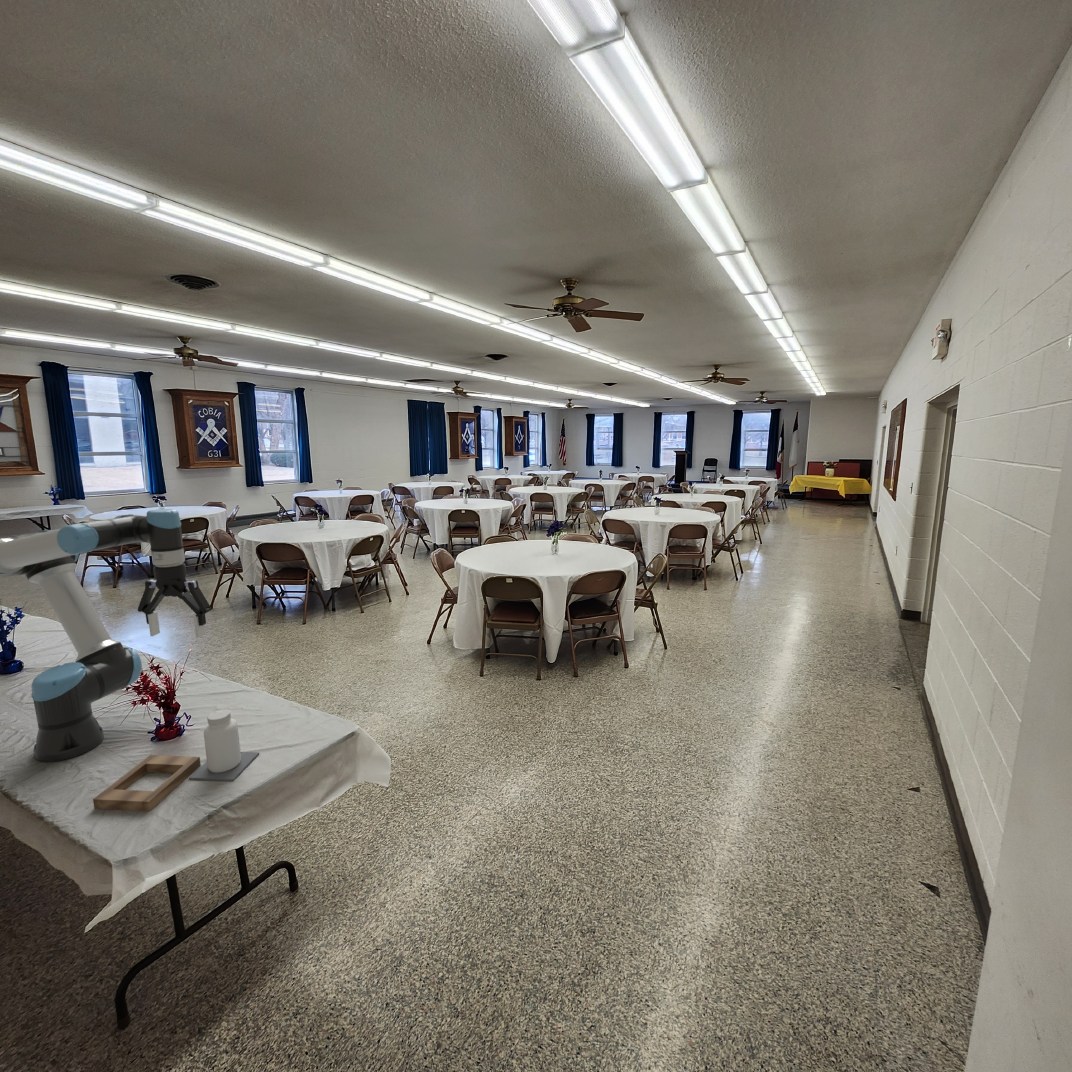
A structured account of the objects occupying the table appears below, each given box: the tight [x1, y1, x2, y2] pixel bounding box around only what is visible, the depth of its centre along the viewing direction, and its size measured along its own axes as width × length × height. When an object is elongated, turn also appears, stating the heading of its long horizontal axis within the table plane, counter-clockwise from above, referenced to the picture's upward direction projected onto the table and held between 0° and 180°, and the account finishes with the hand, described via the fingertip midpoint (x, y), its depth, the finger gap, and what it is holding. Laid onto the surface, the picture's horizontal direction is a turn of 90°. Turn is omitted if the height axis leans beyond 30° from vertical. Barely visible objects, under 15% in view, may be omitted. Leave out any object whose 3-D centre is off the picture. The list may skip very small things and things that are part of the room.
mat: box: [188, 751, 260, 782], centre depth 144 cm, size 12×12×1 cm
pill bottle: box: [203, 709, 242, 773], centre depth 143 cm, size 8×8×15 cm
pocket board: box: [92, 754, 202, 812], centre depth 136 cm, size 14×18×2 cm
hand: (177, 635), depth 153 cm, fingers open, 13 cm apart
